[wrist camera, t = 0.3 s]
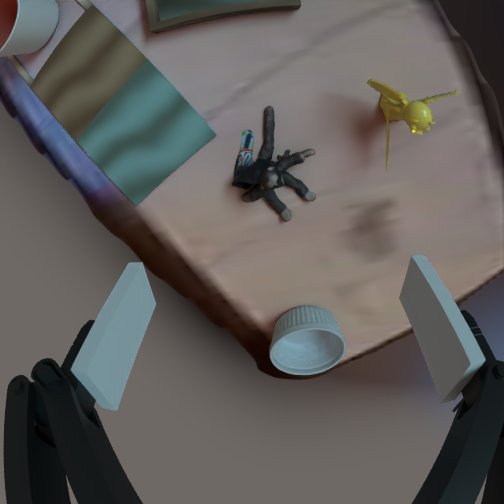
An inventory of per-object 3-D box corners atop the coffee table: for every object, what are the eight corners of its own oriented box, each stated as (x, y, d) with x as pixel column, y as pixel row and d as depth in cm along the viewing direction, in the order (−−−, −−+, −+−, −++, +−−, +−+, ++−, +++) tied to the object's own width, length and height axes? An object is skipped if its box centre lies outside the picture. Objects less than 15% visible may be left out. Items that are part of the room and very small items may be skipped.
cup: (15, 22, 23) (-27, 23, 15) (57, -15, 21) (15, -23, 13) (25, 65, 28) (-19, 72, 20) (68, 29, 26) (24, 27, 18)
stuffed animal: (265, 234, 42) (217, 198, 32) (247, 183, 47) (202, 142, 37) (339, 195, 38) (311, 144, 28) (312, 146, 43) (279, 94, 33)
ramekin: (307, 286, 49) (311, 316, 43) (353, 321, 53) (361, 349, 47) (255, 327, 54) (253, 356, 49) (303, 355, 59) (305, 382, 53)
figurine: (353, 166, 37) (374, 189, 30) (350, 78, 31) (374, 79, 23) (428, 166, 36) (459, 189, 28) (431, 86, 29) (467, 92, 22)
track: (-3, 42, 24) (-4, 42, 24) (51, -33, 18) (49, -34, 18) (136, 205, 42) (135, 206, 41) (216, 134, 36) (215, 135, 35)
